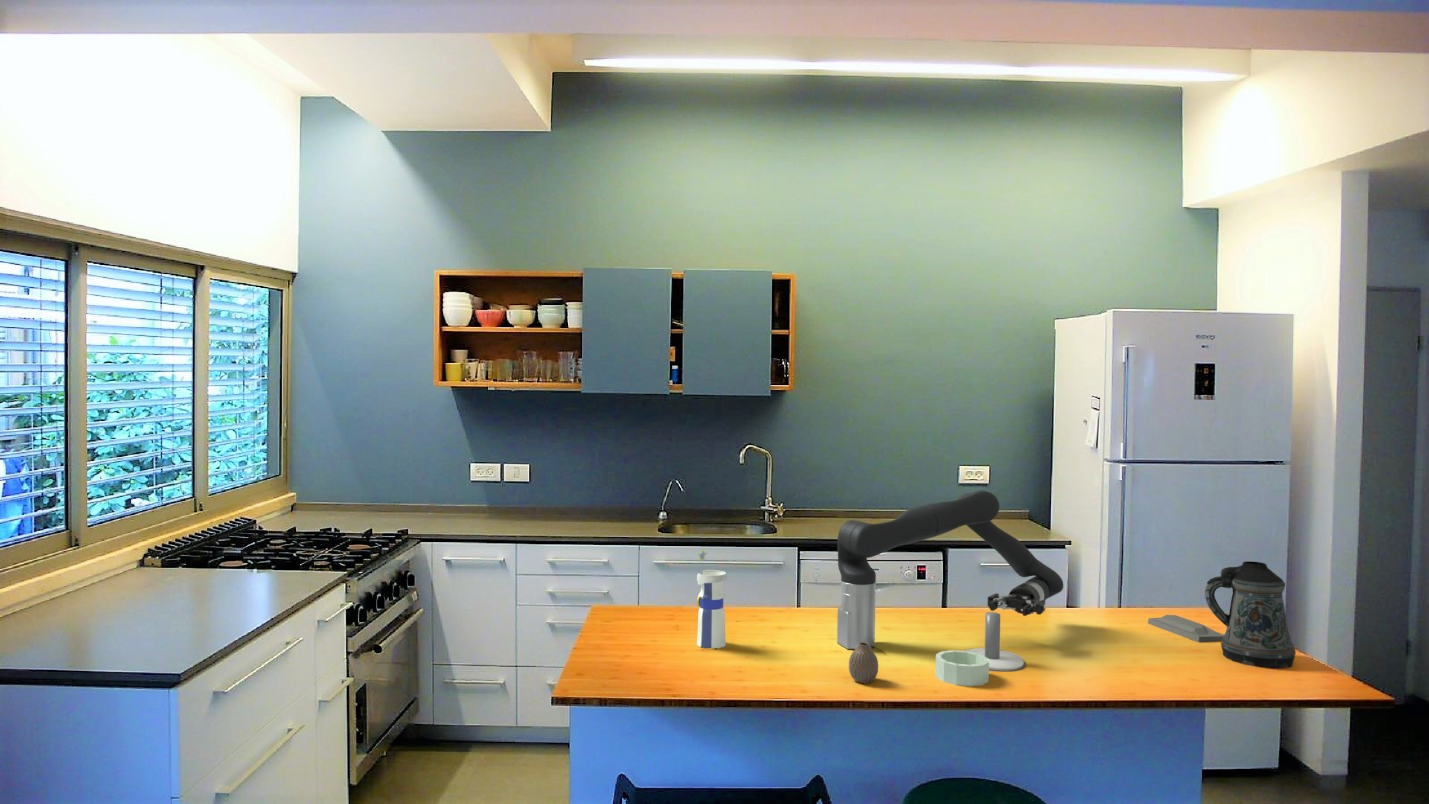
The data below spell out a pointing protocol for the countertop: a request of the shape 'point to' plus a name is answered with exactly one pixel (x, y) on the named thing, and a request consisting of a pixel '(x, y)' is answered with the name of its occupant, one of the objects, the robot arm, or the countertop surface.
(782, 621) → the countertop surface
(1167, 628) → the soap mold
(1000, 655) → the lid
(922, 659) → the countertop surface
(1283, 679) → the countertop surface
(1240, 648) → the beer stein
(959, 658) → the bowl
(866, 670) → the vase
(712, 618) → the water bottle
